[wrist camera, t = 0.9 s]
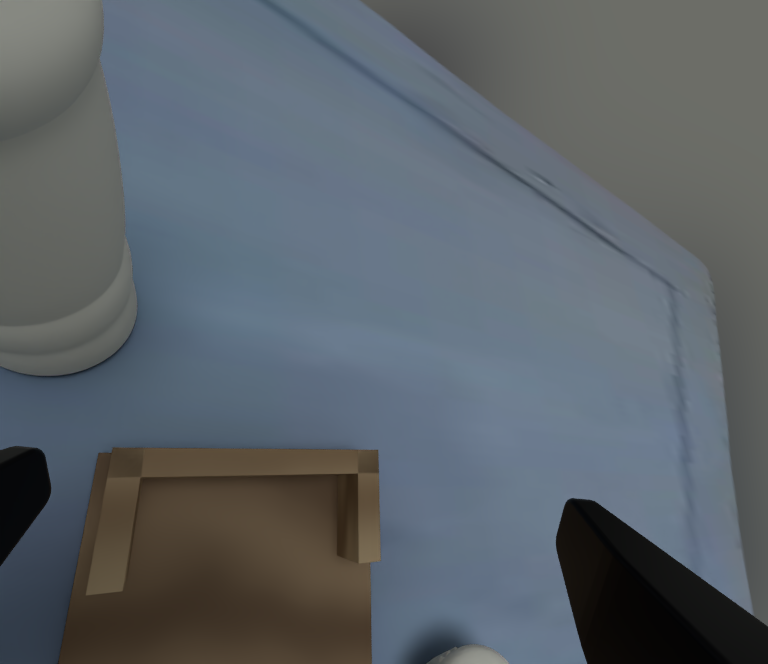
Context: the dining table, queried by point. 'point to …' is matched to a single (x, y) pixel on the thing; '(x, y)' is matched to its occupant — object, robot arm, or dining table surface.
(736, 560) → the dining table surface
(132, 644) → the channel bracket
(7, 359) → the white milk bottle
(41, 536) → the dining table surface
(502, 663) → the muffin
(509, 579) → the dining table surface
